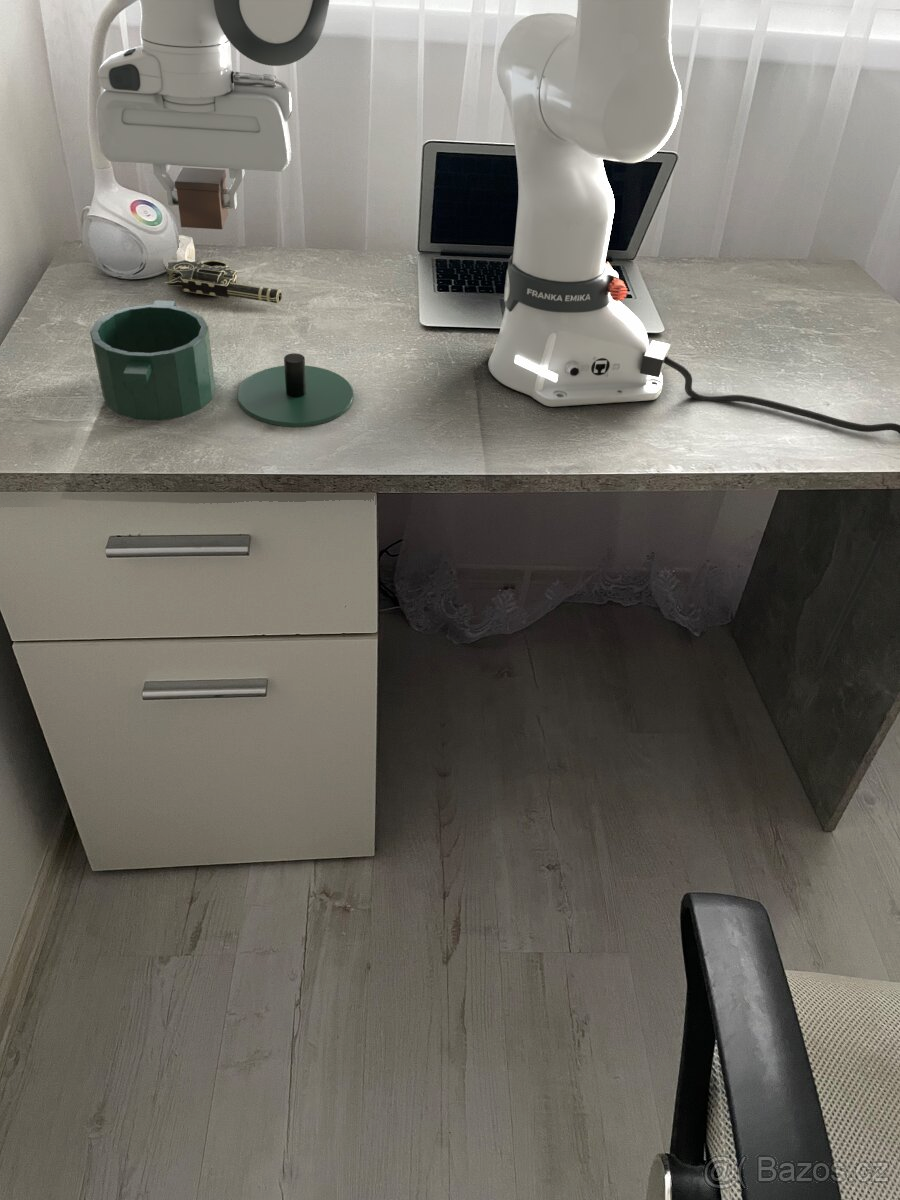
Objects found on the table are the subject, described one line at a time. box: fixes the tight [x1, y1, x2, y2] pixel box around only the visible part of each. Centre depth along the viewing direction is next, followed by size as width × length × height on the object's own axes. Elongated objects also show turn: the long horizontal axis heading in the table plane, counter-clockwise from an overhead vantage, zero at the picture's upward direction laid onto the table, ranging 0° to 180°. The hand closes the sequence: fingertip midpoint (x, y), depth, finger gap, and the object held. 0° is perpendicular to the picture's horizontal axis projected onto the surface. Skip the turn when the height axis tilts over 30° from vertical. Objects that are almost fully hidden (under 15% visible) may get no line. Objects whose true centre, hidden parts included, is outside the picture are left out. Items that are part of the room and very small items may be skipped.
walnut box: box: [174, 166, 229, 230], centre depth 106 cm, size 5×5×5 cm
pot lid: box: [237, 352, 354, 428], centre depth 112 cm, size 14×14×6 cm
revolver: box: [164, 234, 282, 304], centre depth 135 cm, size 4×21×12 cm
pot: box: [89, 299, 216, 421], centre depth 109 cm, size 13×18×8 cm
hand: (202, 205), depth 107 cm, fingers closed on walnut box, 4 cm apart
